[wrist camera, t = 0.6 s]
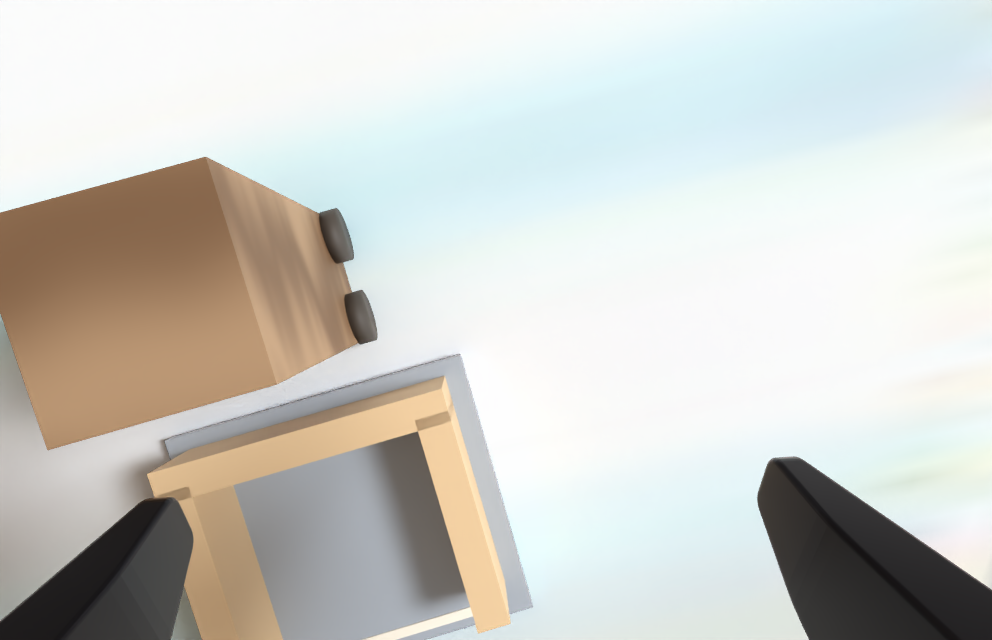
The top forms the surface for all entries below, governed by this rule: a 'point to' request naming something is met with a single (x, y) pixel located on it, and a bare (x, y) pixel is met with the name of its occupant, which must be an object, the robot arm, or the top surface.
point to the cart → (170, 296)
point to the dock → (348, 516)
